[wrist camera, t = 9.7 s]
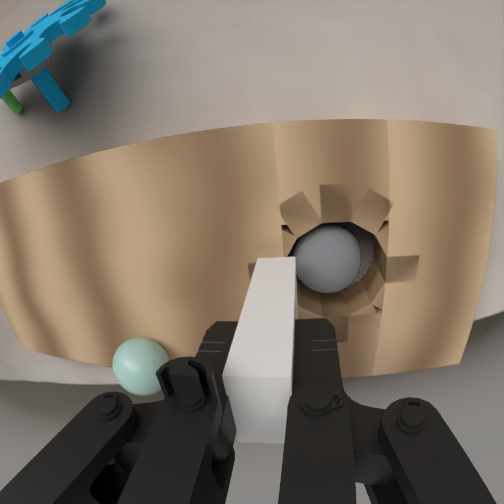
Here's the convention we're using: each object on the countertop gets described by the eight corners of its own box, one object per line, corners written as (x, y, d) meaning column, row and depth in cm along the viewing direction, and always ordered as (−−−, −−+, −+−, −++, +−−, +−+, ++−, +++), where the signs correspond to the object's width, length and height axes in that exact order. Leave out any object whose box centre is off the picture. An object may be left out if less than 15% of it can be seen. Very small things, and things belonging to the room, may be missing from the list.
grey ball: (359, 290, 15) (299, 284, 16) (364, 227, 15) (303, 223, 16) (356, 302, 12) (282, 294, 13) (363, 224, 12) (287, 219, 13)
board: (37, 332, 22) (20, 347, 20) (-9, 187, 17) (-32, 196, 15) (446, 339, 17) (459, 363, 14) (470, 127, 12) (496, 130, 10)
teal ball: (136, 366, 17) (115, 401, 15) (120, 324, 16) (93, 359, 13) (183, 371, 17) (166, 411, 14) (170, 327, 16) (147, 366, 13)
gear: (132, -36, 9) (-8, 75, 6) (164, 43, 15) (75, 173, 11) (16, 24, 12) (-75, 128, 8) (50, 75, 17) (-22, 179, 14)
